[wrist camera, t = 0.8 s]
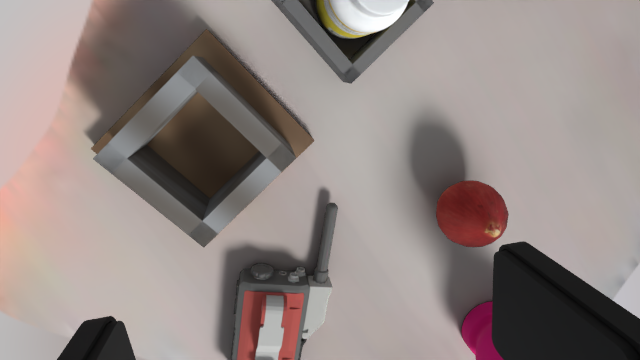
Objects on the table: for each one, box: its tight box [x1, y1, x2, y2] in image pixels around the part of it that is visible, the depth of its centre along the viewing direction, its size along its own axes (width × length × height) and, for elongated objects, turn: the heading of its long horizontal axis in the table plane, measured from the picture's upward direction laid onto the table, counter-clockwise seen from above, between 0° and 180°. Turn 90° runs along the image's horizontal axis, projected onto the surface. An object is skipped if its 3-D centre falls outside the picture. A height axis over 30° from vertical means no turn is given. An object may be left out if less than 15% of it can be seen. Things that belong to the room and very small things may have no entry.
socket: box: [91, 29, 314, 247], centre depth 29 cm, size 13×12×6 cm
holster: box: [272, 0, 434, 83], centre depth 30 cm, size 9×9×3 cm
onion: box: [436, 181, 508, 247], centre depth 34 cm, size 6×6×8 cm
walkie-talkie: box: [231, 203, 338, 360], centre depth 36 cm, size 9×4×20 cm
